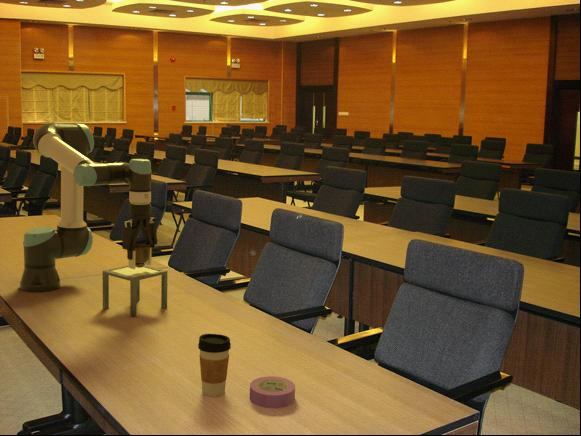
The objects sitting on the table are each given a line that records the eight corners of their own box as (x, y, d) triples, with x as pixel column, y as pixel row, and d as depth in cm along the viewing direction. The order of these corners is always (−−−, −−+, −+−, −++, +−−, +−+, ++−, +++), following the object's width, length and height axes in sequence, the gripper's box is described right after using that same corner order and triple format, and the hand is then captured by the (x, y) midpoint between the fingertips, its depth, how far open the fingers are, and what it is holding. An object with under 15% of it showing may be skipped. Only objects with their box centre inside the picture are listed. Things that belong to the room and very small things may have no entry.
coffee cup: (198, 385, 182) (199, 331, 179) (229, 385, 182) (231, 332, 180) (196, 398, 173) (197, 342, 171) (229, 398, 174) (231, 343, 172)
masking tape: (296, 409, 170) (297, 394, 170) (250, 408, 169) (250, 394, 169) (292, 389, 182) (293, 376, 181) (249, 389, 181) (249, 376, 180)
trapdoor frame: (102, 308, 245) (102, 270, 243) (136, 299, 258) (137, 263, 256) (133, 317, 236) (133, 278, 234) (167, 307, 249) (167, 270, 247)
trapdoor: (111, 273, 243) (111, 270, 243) (136, 267, 253) (136, 265, 253) (133, 280, 237) (133, 277, 236) (159, 274, 246) (159, 271, 246)
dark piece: (145, 270, 238) (145, 247, 237) (125, 268, 240) (125, 246, 239) (153, 265, 246) (153, 244, 245) (134, 263, 247) (134, 242, 246)
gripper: (125, 206, 229) (125, 273, 233) (168, 201, 245) (167, 263, 249) (110, 204, 233) (111, 269, 237) (153, 199, 249) (153, 260, 253)
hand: (140, 266), depth 243 cm, fingers closed on dark piece, 7 cm apart
